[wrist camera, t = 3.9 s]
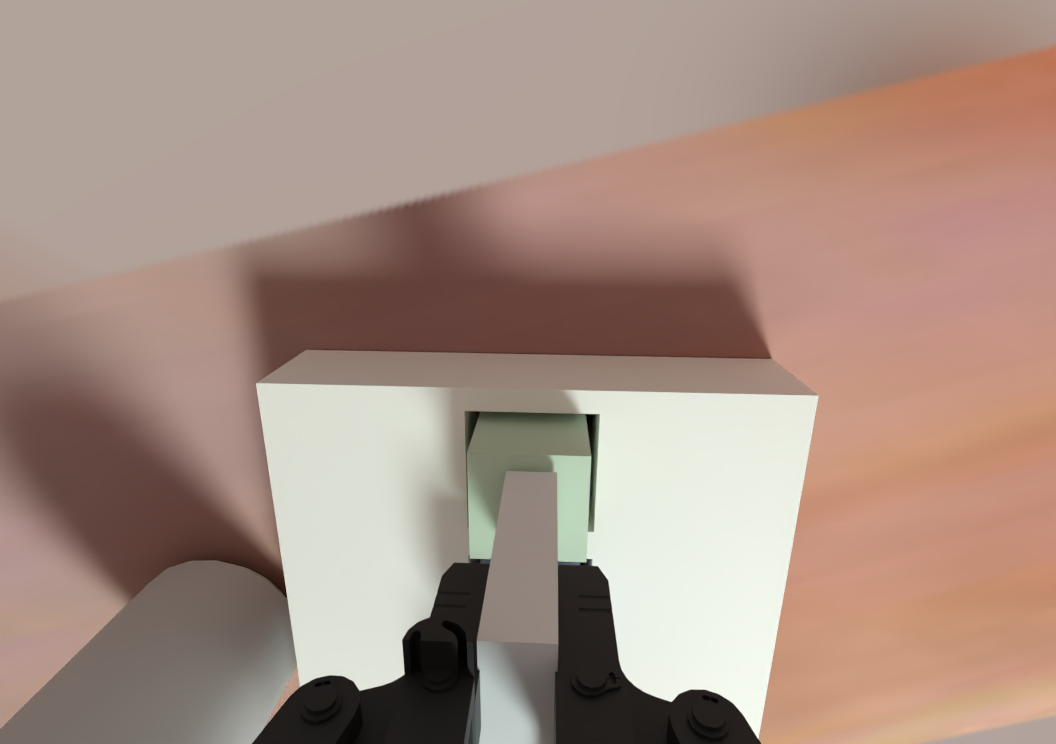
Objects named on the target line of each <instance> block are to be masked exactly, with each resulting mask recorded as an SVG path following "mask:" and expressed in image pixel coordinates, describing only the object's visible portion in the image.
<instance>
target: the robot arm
mask: <svg viewBox="0 0 1056 744" xmlns="http://www.w3.org/2000/svg"><path fill="white" fill-rule="evenodd" d="M402 645H403V659H404V672H405V674H404V675H403V676H402V677H400V678H398V679H397V680H395V681H393V682H391V683H388V684H385V685H382V686H378V687H374V688H370V689H365V690H361V691H359V689H358V688H357V686H356V685H355V683H354V682H353V681H352V680H350V679H348V678H346V677H344V676H334V675H328V676H324V677H320V678H315V679H313V680H311V681H310V682H308V683H306V684H304V685H302V686H301V687H300V688H299V689H297V690H296V691H295V692H294V693H293V694H292V695H291V696H290V697H289V698H288V700H287V701H286V702H285V703H284V704H283V706H282V707H281V708H280V709H279V711H278V712H277V713H276V714H275V716H274V717H273V718H272V719H271V721H270V722H269V723H268V724H267V725H266V727H265V728H264V729H263V730H262V732H261V733H260V734H259V735H258V737H257V738H256V739H255V740H254V742H253V743H252V744H761V743H760V741H759V740H758V738H757V736H756V735H755V733H754V732H753V730H752V728H751V727H750V725H749V724H748V722H747V720H746V719H745V717H744V716H743V714H742V713H741V712H740V711H739V710H738V708H737V707H736V706H735V705H734V704H733V703H732V702H730V701H729V700H727V699H726V698H724V697H723V696H721V695H720V694H717V693H714V692H711V691H708V690H693V689H691V690H688V691H685V692H683V693H680V694H678V696H677V697H676V698H675V699H674V700H673V701H672V702H670V701H667V700H664V699H661V698H658V697H655V696H652V695H650V694H648V693H645V692H643V691H642V690H640V689H639V688H637V687H636V686H634V685H633V684H632V683H631V682H630V681H629V680H628V679H627V678H626V676H625V674H624V673H623V671H622V669H621V666H620V662H619V656H618V649H617V642H616V634H615V627H614V619H613V613H612V604H611V600H610V589H609V582H608V579H607V578H606V577H605V575H604V574H603V572H602V571H601V570H600V568H599V567H598V566H581V565H558V522H557V472H525V471H506V474H505V480H504V485H503V491H502V497H501V503H500V509H499V514H498V520H497V526H496V532H495V538H494V543H493V549H492V555H491V561H490V564H483V563H455V562H454V563H453V564H452V565H451V567H450V568H449V569H448V570H447V571H446V572H445V573H444V574H443V575H442V577H441V581H440V584H439V588H438V591H437V595H436V598H435V601H434V607H433V608H432V612H431V615H430V617H429V618H427V619H424V620H422V621H419V622H417V623H416V624H415V625H413V626H412V627H411V628H410V629H408V631H407V632H406V634H405V636H404V637H403V639H402Z"/></svg>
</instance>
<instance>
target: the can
mask: <svg viewBox="0 0 1056 744" xmlns="http://www.w3.org/2000/svg"><path fill="white" fill-rule="evenodd" d="M296 667H297V660H296V653H295V647H294V640H293V633H292V626H291V619H290V612H289V606H288V599H287V598H286V597H285V596H284V595H283V593H282V592H281V591H280V590H279V589H278V588H277V587H276V586H275V585H274V584H273V583H272V582H271V581H270V580H268V579H267V578H266V577H264V576H262V575H260V574H258V573H256V572H255V571H253V570H251V569H249V568H246V567H242V566H238V565H234V564H230V563H225V562H221V561H217V560H208V561H188V562H185V563H182V564H179V565H175V566H172V567H169V568H167V569H166V570H164V571H163V572H162V573H161V574H159V575H158V576H157V577H155V578H154V579H153V580H152V581H150V582H149V583H148V584H147V585H146V586H145V587H144V588H143V589H142V590H141V591H140V592H139V593H138V594H137V595H136V596H135V597H134V598H133V599H132V600H131V601H130V602H129V603H128V604H127V605H126V606H125V607H124V608H123V609H122V610H121V611H120V612H119V613H118V614H117V615H116V616H115V617H114V618H113V619H112V620H111V621H110V622H109V623H108V624H107V625H106V626H105V627H104V628H103V629H102V630H101V631H100V632H99V633H98V634H96V635H95V636H94V637H93V638H92V639H91V640H90V641H89V642H88V643H87V644H86V645H85V646H84V647H83V648H82V649H81V650H80V651H79V652H78V653H77V654H76V655H75V656H74V657H73V658H72V659H71V660H70V661H69V662H68V663H67V664H66V665H65V666H64V667H63V668H62V669H61V670H60V671H59V672H58V673H57V674H56V675H55V676H54V677H53V678H52V679H51V680H50V681H49V682H48V683H47V684H46V685H45V686H44V687H43V688H42V689H41V690H40V691H39V692H37V693H36V694H35V695H34V696H33V697H32V698H31V699H30V700H29V701H28V702H27V703H26V704H25V705H24V706H23V707H22V708H21V709H20V710H19V711H18V712H17V713H16V714H15V715H14V716H13V717H12V718H11V719H10V720H9V721H8V722H7V723H6V724H5V725H4V726H3V727H2V728H1V729H0V744H252V743H253V742H254V740H255V739H256V738H257V737H258V735H259V734H260V733H261V732H262V730H263V728H264V727H265V725H266V723H267V721H268V719H269V717H270V715H271V713H272V712H273V710H274V708H275V706H276V704H277V702H278V700H279V698H280V697H281V695H282V693H283V691H284V689H285V687H286V685H287V683H288V682H289V680H290V678H291V676H292V674H293V672H294V670H295V668H296Z"/></svg>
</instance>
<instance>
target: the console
mask: <svg viewBox="0 0 1056 744" xmlns="http://www.w3.org/2000/svg"><path fill="white" fill-rule="evenodd" d="M256 387H257V394H258V401H259V408H260V414H261V421H262V428H263V435H264V442H265V449H266V455H267V462H268V469H269V476H270V483H271V490H272V496H273V503H274V510H275V517H276V524H277V531H278V537H279V544H280V551H281V558H282V565H283V571H284V578H285V585H286V592H287V599H288V606H289V612H290V619H291V626H292V633H293V640H294V647H295V653H296V660H297V667H298V674H299V681H300V687H301V686H302V685H304V684H306V683H308V682H310V681H311V680H313V679H315V678H320V677H324V676H328V675H334V676H344V677H346V678H348V679H350V680H352V681H353V682H354V683H355V685H356V686H357V688H358V689H359V691H361V690H365V689H370V688H374V687H378V686H382V685H385V684H388V683H391V682H393V681H395V680H397V679H398V678H400V677H402V676H403V675H404V674H405V672H404V659H403V645H402V639H403V637H404V636H405V634H406V632H407V631H408V629H410V628H411V627H412V626H413V625H415V624H416V623H417V622H419V621H422V620H424V619H427V618H429V617H430V615H431V612H432V608H433V607H434V601H435V598H436V595H437V591H438V588H439V584H440V581H441V577H442V575H443V574H444V573H445V572H446V571H447V570H448V569H449V568H450V567H451V565H452V564H453V563H454V562H455V563H480V561H481V559H470V548H469V511H468V475H467V451H468V448H469V445H470V442H471V439H472V436H473V433H474V430H475V426H476V423H477V420H478V417H479V414H480V411H487V412H529V413H572V414H590V432H589V443H590V450H591V474H590V496H589V517H588V538H587V560H586V562H584V565H583V566H598V567H599V568H600V570H601V571H602V572H603V574H604V575H605V577H606V578H607V579H608V582H609V589H610V600H611V604H612V613H613V619H614V627H615V634H616V642H617V649H618V656H619V662H620V666H621V669H622V671H623V673H624V674H625V676H626V678H627V679H628V680H629V681H630V682H631V683H632V684H633V685H634V686H636V687H637V688H639V689H640V690H642V691H643V692H645V693H648V694H650V695H652V696H655V697H658V698H661V699H664V700H667V701H670V702H672V701H673V700H674V699H675V698H676V697H677V696H678V694H680V693H683V692H685V691H688V690H691V689H693V690H708V691H711V692H714V693H717V694H720V695H721V696H723V697H724V698H726V699H727V700H729V701H730V702H732V703H733V704H734V705H735V706H736V707H737V708H738V710H739V711H740V712H741V713H742V714H743V716H744V717H745V719H746V720H747V722H748V724H749V725H750V727H751V728H752V730H753V732H754V733H755V735H756V736H757V738H759V732H760V726H761V721H762V715H763V709H764V704H765V698H766V692H767V686H768V681H769V675H770V669H771V664H772V658H773V652H774V647H775V641H776V635H777V630H778V624H779V618H780V612H781V607H782V601H783V595H784V590H785V584H786V578H787V573H788V567H789V561H790V556H791V550H792V544H793V538H794V533H795V527H796V521H797V516H798V510H799V504H800V499H801V493H802V487H803V482H804V476H805V470H806V464H807V459H808V453H809V447H810V442H811V436H812V430H813V425H814V419H815V413H816V408H817V402H818V395H817V394H816V393H815V392H813V391H812V390H811V389H810V388H808V387H807V386H806V385H805V384H803V383H802V382H801V381H800V380H798V379H797V378H796V377H794V376H793V375H792V374H791V373H789V372H788V371H787V370H786V369H784V368H783V367H782V366H781V365H779V364H778V363H777V362H776V361H774V360H773V359H747V358H696V357H646V356H595V355H545V354H494V353H444V352H393V351H343V350H305V351H304V352H302V353H301V354H299V355H298V356H296V357H295V358H293V359H292V360H290V361H289V362H287V363H286V364H284V365H283V366H281V367H280V368H278V369H277V370H275V371H274V372H272V373H271V374H269V375H268V376H266V377H265V378H263V379H262V380H260V381H259V382H257V383H256Z"/></svg>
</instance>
